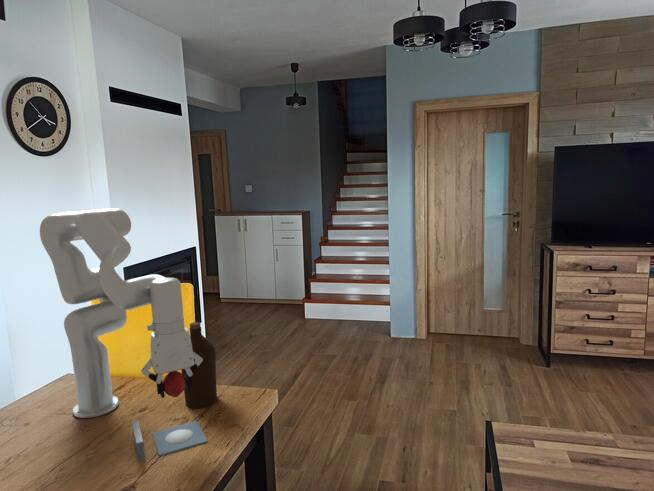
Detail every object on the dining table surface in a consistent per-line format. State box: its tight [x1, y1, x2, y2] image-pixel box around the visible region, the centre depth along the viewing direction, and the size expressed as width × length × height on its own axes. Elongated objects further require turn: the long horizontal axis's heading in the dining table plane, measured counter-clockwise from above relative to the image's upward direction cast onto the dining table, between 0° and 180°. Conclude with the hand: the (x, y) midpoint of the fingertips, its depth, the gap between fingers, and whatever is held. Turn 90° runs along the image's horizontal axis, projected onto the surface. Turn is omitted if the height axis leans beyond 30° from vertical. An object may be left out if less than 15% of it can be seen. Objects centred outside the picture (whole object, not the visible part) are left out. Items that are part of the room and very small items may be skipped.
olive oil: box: [180, 321, 218, 409], centre depth 142 cm, size 11×11×25 cm
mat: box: [152, 420, 208, 457], centre depth 124 cm, size 12×12×1 cm
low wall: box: [131, 420, 146, 463], centre depth 119 cm, size 12×2×5 cm, turn 28°
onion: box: [162, 370, 186, 398], centre depth 121 cm, size 6×6×8 cm
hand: (175, 392), depth 122 cm, fingers closed on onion, 5 cm apart
